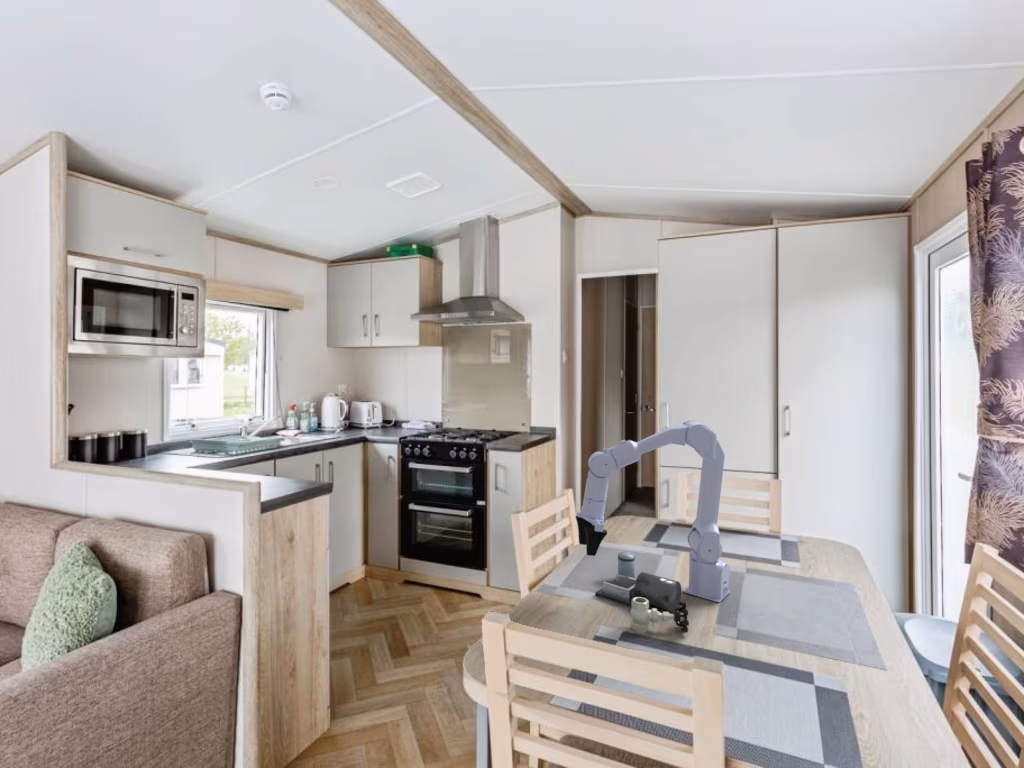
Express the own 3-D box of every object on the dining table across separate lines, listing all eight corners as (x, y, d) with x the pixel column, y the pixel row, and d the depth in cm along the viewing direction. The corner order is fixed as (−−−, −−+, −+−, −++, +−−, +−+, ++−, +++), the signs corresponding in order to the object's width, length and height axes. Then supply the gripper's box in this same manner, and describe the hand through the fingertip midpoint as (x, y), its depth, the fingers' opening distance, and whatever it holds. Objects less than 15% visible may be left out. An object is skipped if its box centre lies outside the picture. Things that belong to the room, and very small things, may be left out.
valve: (632, 636, 119) (688, 639, 118) (632, 606, 119) (689, 609, 118) (628, 621, 126) (682, 624, 125) (629, 593, 126) (682, 595, 124)
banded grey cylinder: (637, 579, 150) (638, 554, 149) (629, 584, 146) (629, 558, 146) (622, 575, 153) (623, 550, 152) (614, 580, 149) (614, 554, 149)
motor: (683, 603, 135) (684, 575, 134) (666, 618, 127) (666, 588, 127) (615, 583, 147) (615, 557, 147) (595, 595, 140) (595, 568, 139)
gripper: (573, 489, 149) (565, 538, 150) (587, 504, 135) (579, 558, 135) (598, 492, 150) (590, 540, 151) (615, 508, 136) (606, 561, 136)
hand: (587, 549), depth 143 cm, fingers open, 7 cm apart
